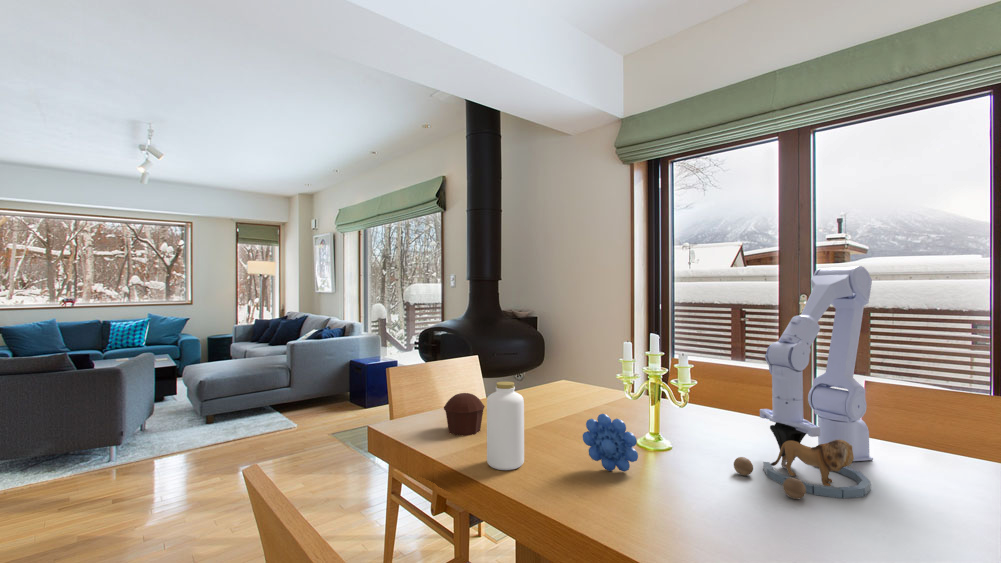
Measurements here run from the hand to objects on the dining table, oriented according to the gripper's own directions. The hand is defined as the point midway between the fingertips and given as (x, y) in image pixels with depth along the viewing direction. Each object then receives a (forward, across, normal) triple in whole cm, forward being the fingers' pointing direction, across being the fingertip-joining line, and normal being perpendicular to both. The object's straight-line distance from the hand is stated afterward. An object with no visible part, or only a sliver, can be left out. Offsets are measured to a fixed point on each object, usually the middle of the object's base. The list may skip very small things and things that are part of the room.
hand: (788, 459), depth 98 cm
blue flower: (+2, -4, -40) cm, 40 cm away
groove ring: (+1, +8, 0) cm, 8 cm away
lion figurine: (+2, +6, 0) cm, 7 cm away
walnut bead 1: (+1, +2, -13) cm, 13 cm away
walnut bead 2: (+1, +14, -11) cm, 17 cm away
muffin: (+2, -38, -68) cm, 78 cm away
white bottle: (+2, -12, -61) cm, 62 cm away
